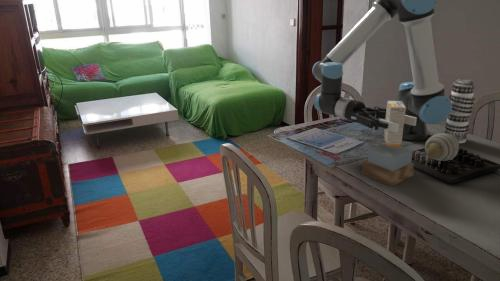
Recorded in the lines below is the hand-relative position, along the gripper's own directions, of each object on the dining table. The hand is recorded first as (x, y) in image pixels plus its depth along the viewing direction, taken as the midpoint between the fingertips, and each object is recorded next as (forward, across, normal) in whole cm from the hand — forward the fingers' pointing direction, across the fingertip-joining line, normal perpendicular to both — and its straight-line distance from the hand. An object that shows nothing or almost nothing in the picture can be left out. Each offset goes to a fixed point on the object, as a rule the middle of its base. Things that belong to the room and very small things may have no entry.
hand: (407, 125), depth 120 cm
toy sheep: (+1, -23, -20) cm, 30 cm away
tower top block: (-5, 0, -15) cm, 16 cm away
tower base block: (-5, 0, -20) cm, 20 cm away
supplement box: (-5, 0, -7) cm, 9 cm away
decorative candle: (-6, -48, -19) cm, 52 cm away
